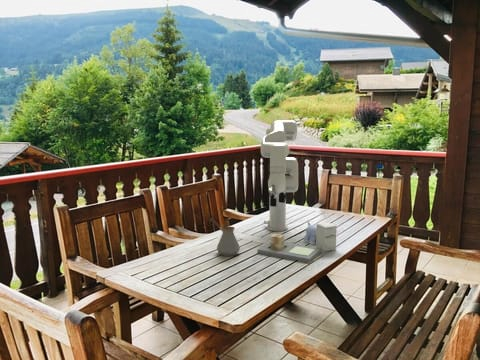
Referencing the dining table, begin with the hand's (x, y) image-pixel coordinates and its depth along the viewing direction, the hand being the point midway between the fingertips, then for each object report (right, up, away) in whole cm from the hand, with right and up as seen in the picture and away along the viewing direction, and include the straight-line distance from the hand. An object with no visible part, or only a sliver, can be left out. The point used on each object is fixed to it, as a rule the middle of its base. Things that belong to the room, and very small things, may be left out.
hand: (277, 204), depth 203 cm
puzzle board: (+6, -24, +1) cm, 25 cm away
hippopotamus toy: (+22, -21, +18) cm, 36 cm away
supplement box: (+25, -23, +7) cm, 35 cm away
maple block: (0, -24, +4) cm, 24 cm away
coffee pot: (-27, -24, +5) cm, 36 cm away
